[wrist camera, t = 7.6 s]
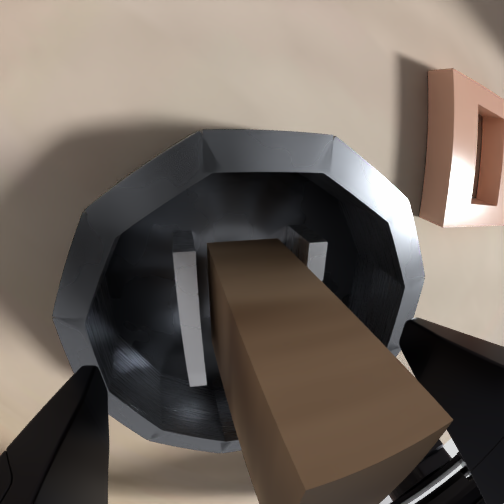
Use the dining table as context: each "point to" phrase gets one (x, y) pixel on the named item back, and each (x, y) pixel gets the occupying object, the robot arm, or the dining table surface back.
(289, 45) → the dining table surface
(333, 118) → the dining table surface
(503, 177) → the rest block
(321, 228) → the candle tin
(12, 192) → the dining table surface
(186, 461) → the dining table surface
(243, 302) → the tan bar
